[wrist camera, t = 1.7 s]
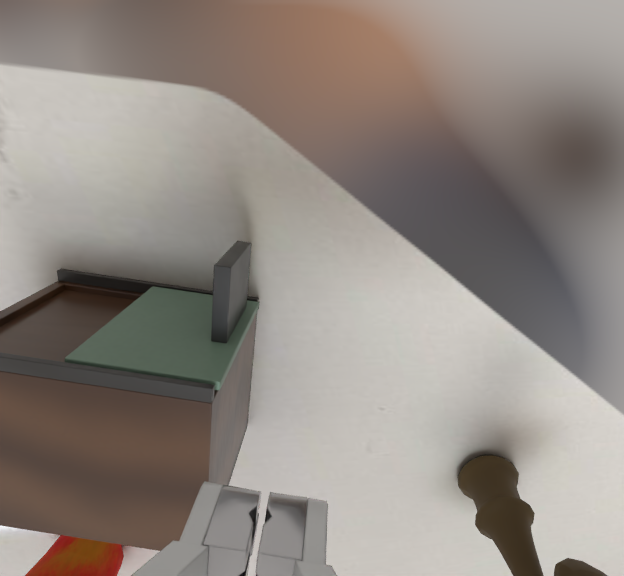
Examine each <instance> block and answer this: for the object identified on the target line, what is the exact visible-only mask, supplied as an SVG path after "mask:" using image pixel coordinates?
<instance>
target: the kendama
mask: <svg viewBox="0 0 624 576" xmlns="http://www.w3.org/2000/svg"><path fill="white" fill-rule="evenodd" d="M518 475H519V473H518V471H517V470H516V468H515V467H514V465H513V464H512V463H511V462H509V461H508V460H506V459H504V458H502V457H498V456H494V455H487V456H479V457H477V458H475V459H472V460H470V461H469V462H468V463H467V464H466V465H465V466H464V467H463V468H462V470H461V472H460V473H459V475H458V486H459V488H460V489H461V491H462V492H463V493H464V494H465V495H466V496H468V497H469V498H471V499H473V500H474V503H475V505H476V508H477V514H476V520H475V525H476V527H477V528H478V530H479V531H480V533H481V534H483V535H485V536H486V537H488V538H490V539H492V540H493V541H494V543H495V544H496V546H497V547H498V549H499V551H500V552H501V554H502V556H503V558H504V559H505V561H506V563H507V565H508V567H509V568H510V570H511V572H512V574H513V576H543V573H542V569H541V566H540V563H539V560H538V556H537V553H536V549H535V546H534V542H533V538H532V533H531V525H532V523H533V520H534V512H533V510H532V508H531V507H530V505H529V504H527V503H526V502H524V501H523V500H521V499H520V497H519V494H518V491H517V487H516V486H517V484H518ZM554 576H607V575H606V574H604V573H603V572H601V571H600V570H598V569H596V568H594V567H592V566H590V565H588V564H587V563H585V562H583V561H579V560H574V559H570V558H567V559H565V560H563V561H561V562H559V563H557V564H556V566H555V570H554Z"/></svg>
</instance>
